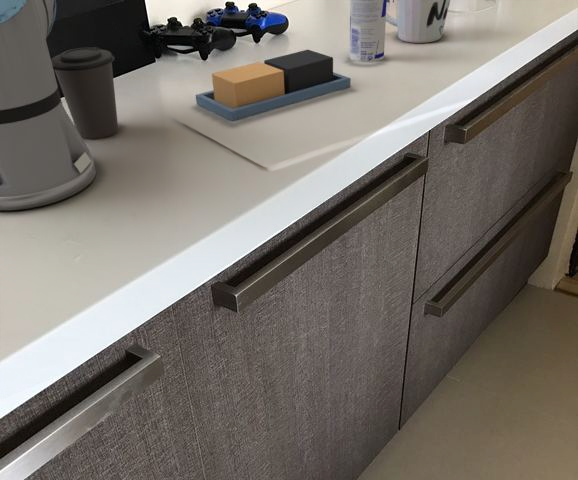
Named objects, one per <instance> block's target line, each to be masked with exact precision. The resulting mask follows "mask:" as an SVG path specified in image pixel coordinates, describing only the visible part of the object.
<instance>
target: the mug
mask: <svg viewBox="0 0 578 480" xmlns="http://www.w3.org/2000/svg"><path fill="white" fill-rule="evenodd" d="M394 1H395V14H396V15H395V16H396V18H395V17H392V16H391V15H390V14H388V13H387V12H386V23H388V24H389V25H392V26H393V27H396V29H397V36H398V39H399V40H401V41H402V42H406V43H411V44H412V43H413V44H426V43H432V42H436V41H438V40H440V39H441V38H442V36H443V33H444V29H445V24H446V20H447V17H448V11H449V7H450V2H451V0H394Z"/></svg>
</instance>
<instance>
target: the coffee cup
mask: <svg viewBox="0 0 578 480" xmlns="http://www.w3.org/2000/svg"><path fill="white" fill-rule="evenodd" d="M50 59H51V62H52V66H53V70H54V73H55V76H56V79H57V81H58V84H59V86H60V89H61V91H62V94H63V97H64V100H65V102H66V105H67V107H68V110H69V113H70V117H71V118H72V119H71V120H72V122H73V124H74V126H75V127H76V129H77V131H78V132H79V134H80V136H81V137H82V139H88V140H89V139H90V140H95V139H104V138H107V137H111V136H113V135H114V134H117V133H118V131H119V125H118V124H119V121H118V112H117V103H116V93H115V83H114V73H113V62H114V61H115V56H114V55H113V54H112V52H111V51H110V50H107V49H101V48H99V47H97V46H92V47H79V48H72V49H69V50H66V51H63V52H61V53H60V54H57V55H55V56H54V57H52V58H50Z"/></svg>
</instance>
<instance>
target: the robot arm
mask: <svg viewBox="0 0 578 480" xmlns="http://www.w3.org/2000/svg"><path fill="white" fill-rule="evenodd" d="M56 13H57V0H0V211H18V210H27V209H33V208H39V207H43V206H47V205H51V204H54V203H57V202H59V201H62V200H64V199H67V198H70V197H72V196H74V195H76V194H77V193H79V192H80V191H83V190H84V189H85V188H87V186H89V185H90V184H91V183H92V181H93V180H94V178H95V177H96V173H97V170H96V165H95V162H94V157H93V155H92V153H91V151H90V149H89V147H88V145H87V144H86V142H85V140H84V138H82V137H81V136H80V134H79V132H78V131H77V129H76V127H75V124H74V121H73V120H72V119H71V116H70V115H69V114H68V113H67V111H66V109H65V107H64V105H63V101H62V97H61V94H60V90H59V86H58V83H57V77H56V73H55V70H54V69H53V66H52V62H51V59H52V58H51V55H50V51H49V47H48V44H47V43H48V42H47V38H48V36H49V35H50V33H51V32H52V29H53V26H54V23H55V21H56Z"/></svg>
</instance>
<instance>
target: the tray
mask: <svg viewBox="0 0 578 480" xmlns="http://www.w3.org/2000/svg"><path fill="white" fill-rule="evenodd" d="M351 80H352V79H351V77H349V76H346V75H342V74H340V73H336V72H334V71H333V81H331V82H328V83H324V84H321V85H317V86H314V87H310V88H307V89H303V90H299V91H296V92H292V93H289V94H285V95H282V96H278V97H275V98H271V99H268V100H264V101H261V102H257V103H253V104H250V105H246V106H243V107H239V108H236V109H232V108H230V107H227V106H225V105H223V104H221V103H219V102H217V101H215V98H214V90H209V91H205V92H202V93H197V94H195V101H196V105H198V106H200V107H202V108H204V109H206V110H208V111H210V112H212V113H215V114H216V115H218V116H221V117H222V118H224V119H227V120H228V121H230V122H236V121H239V120H243V119H247V118H249V117H253V116H257V115H259V114H263V113H266V112H269V111H273V110H276V109H280V108H284V107H287V106H290V105H294V104H297V103H301V102H304V101H307V100H312V99H314V98H317V97H321V96H324V95H328V94H331V93H335V92H338V91H342V90H345V89H348V88H351V85H352V84H351Z"/></svg>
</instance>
